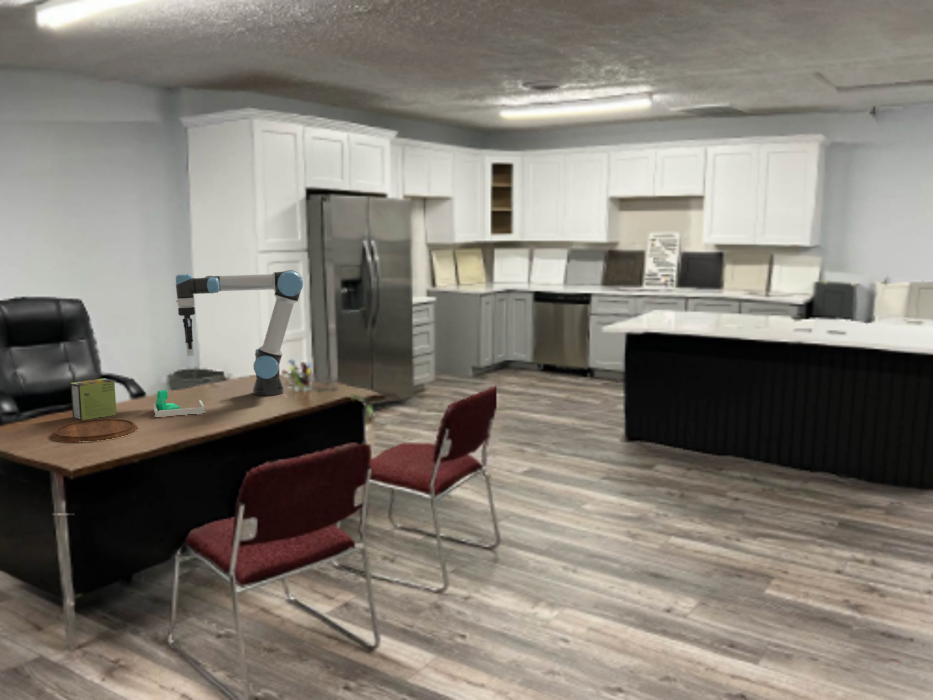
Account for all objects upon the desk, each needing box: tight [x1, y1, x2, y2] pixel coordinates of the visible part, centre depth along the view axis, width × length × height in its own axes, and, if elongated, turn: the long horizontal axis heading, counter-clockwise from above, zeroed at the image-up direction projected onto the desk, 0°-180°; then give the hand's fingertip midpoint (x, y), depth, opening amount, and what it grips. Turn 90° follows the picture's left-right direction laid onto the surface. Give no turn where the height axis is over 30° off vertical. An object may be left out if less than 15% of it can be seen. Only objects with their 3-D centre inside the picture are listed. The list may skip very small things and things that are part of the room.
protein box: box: [69, 378, 117, 421], centre depth 346 cm, size 10×15×16 cm
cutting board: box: [51, 418, 139, 443], centre depth 318 cm, size 32×32×2 cm
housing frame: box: [152, 399, 206, 418], centre depth 355 cm, size 21×16×3 cm
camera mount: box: [155, 389, 181, 411], centre depth 356 cm, size 12×8×10 cm, turn 38°
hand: (190, 355), depth 375 cm, fingers closed
